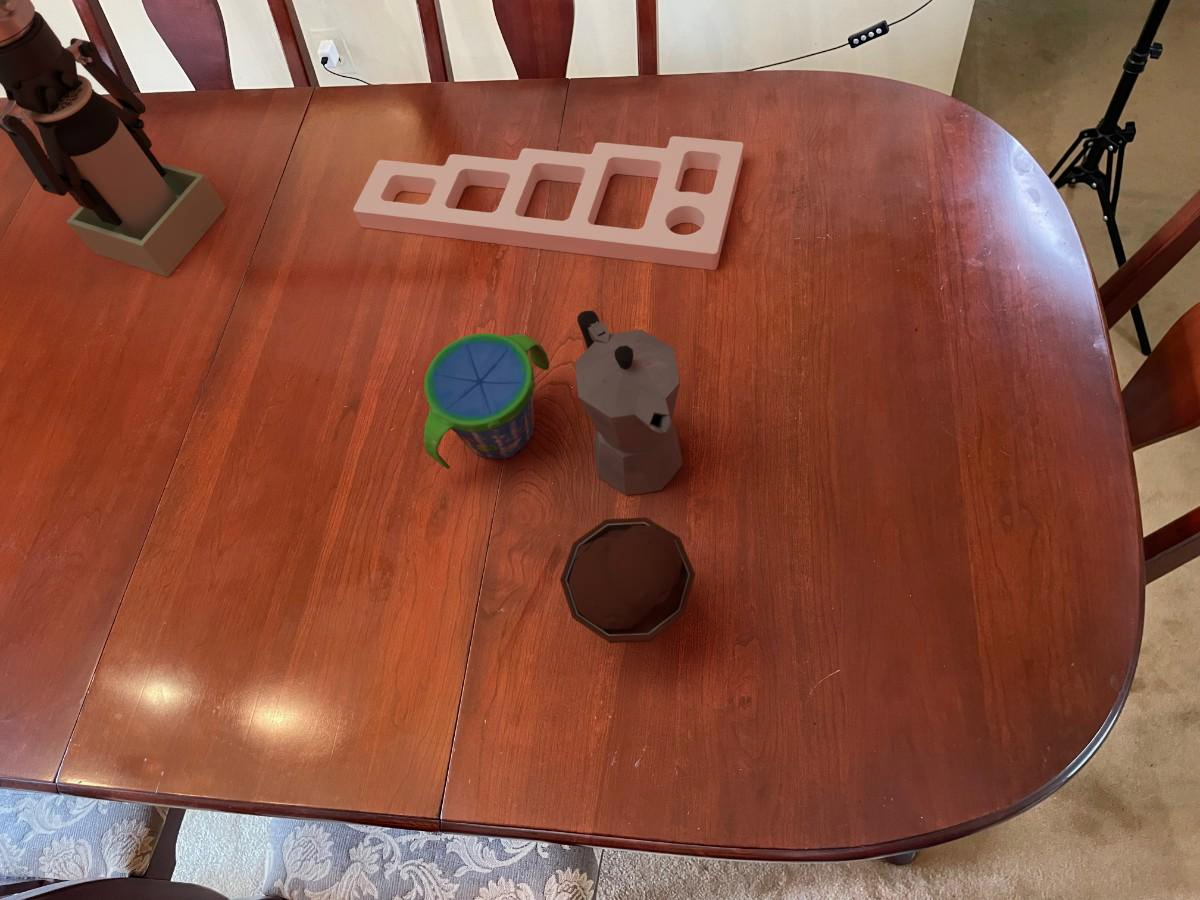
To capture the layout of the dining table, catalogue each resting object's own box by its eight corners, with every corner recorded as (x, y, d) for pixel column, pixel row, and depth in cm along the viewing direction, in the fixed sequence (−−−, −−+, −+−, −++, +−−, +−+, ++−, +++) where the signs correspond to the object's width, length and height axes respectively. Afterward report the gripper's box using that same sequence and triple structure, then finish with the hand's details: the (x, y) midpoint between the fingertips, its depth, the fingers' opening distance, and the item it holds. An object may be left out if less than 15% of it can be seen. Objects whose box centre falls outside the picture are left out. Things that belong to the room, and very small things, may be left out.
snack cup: (474, 511, 85) (447, 462, 76) (412, 448, 89) (380, 395, 80) (587, 414, 89) (575, 357, 80) (523, 358, 93) (504, 299, 85)
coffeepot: (712, 484, 83) (714, 382, 68) (629, 529, 82) (611, 435, 66) (636, 375, 91) (622, 260, 75) (558, 414, 89) (527, 305, 74)
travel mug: (192, 198, 108) (106, 75, 93) (159, 244, 105) (64, 125, 89) (141, 189, 110) (48, 67, 95) (107, 234, 107) (5, 115, 91)
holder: (359, 226, 106) (352, 211, 104) (409, 128, 114) (403, 111, 112) (716, 270, 97) (716, 254, 94) (743, 159, 105) (744, 142, 102)
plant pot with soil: (667, 542, 81) (661, 468, 68) (712, 650, 75) (713, 592, 62) (562, 579, 80) (535, 512, 67) (599, 691, 75) (577, 641, 62)
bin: (94, 253, 109) (65, 221, 104) (154, 187, 114) (129, 153, 109) (168, 277, 105) (141, 245, 100) (226, 208, 110) (204, 174, 106)
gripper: (-47, 101, 80) (102, 265, 99) (97, -28, 88) (208, 146, 108) (-100, 86, 82) (56, 250, 101) (45, -39, 90) (163, 135, 110)
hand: (134, 196), depth 105 cm, fingers closed on travel mug, 8 cm apart
